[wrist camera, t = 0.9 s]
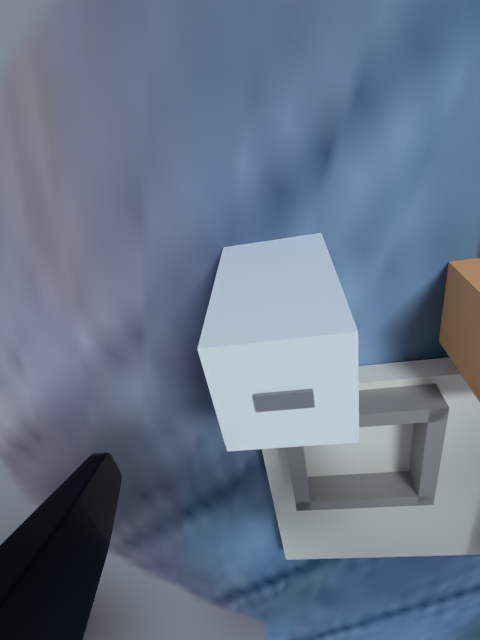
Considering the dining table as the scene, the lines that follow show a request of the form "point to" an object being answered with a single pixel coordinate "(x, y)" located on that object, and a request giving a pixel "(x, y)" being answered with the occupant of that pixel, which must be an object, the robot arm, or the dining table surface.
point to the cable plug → (463, 320)
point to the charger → (281, 347)
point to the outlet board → (388, 472)
